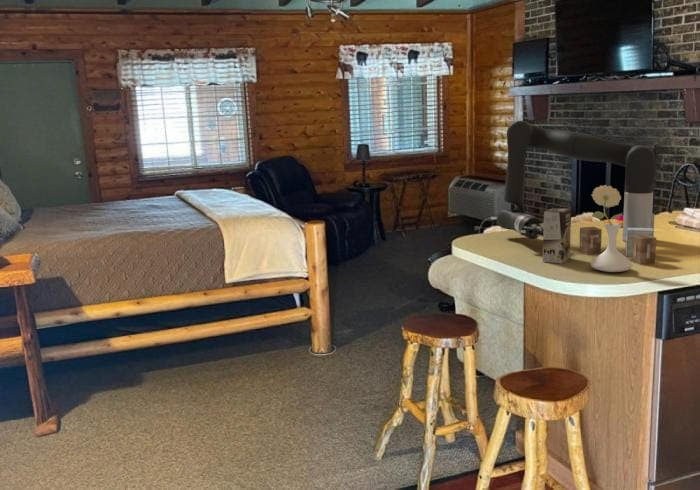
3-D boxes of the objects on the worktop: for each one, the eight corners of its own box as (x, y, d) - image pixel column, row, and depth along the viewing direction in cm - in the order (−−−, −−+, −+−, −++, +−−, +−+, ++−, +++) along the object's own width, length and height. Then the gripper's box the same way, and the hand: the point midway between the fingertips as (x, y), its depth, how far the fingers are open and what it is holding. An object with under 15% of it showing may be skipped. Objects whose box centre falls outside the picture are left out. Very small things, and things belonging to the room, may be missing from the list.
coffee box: (562, 263, 207) (563, 212, 204) (541, 261, 211) (543, 211, 207) (570, 258, 214) (572, 208, 211) (550, 256, 218) (551, 207, 215)
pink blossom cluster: (634, 226, 265) (634, 216, 264) (617, 228, 263) (617, 217, 262) (620, 223, 273) (620, 213, 272) (603, 225, 270) (604, 215, 270)
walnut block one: (645, 260, 208) (647, 234, 206) (655, 263, 203) (656, 237, 201) (630, 261, 207) (631, 235, 206) (639, 264, 202) (640, 238, 201)
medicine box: (651, 254, 215) (653, 227, 214) (652, 257, 211) (654, 230, 209) (625, 253, 218) (626, 227, 216) (625, 256, 214) (627, 229, 212)
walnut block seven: (593, 250, 225) (594, 226, 223) (601, 253, 219) (602, 229, 218) (578, 251, 224) (579, 227, 222) (586, 254, 219) (586, 230, 217)
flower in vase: (640, 270, 195) (644, 185, 190) (616, 277, 189) (620, 189, 184) (600, 263, 206) (603, 182, 201) (577, 269, 199) (580, 185, 195)
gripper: (510, 216, 232) (529, 224, 215) (546, 214, 234) (568, 222, 217) (510, 237, 234) (529, 247, 217) (546, 235, 235) (568, 244, 218)
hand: (549, 234), depth 217 cm, fingers closed
